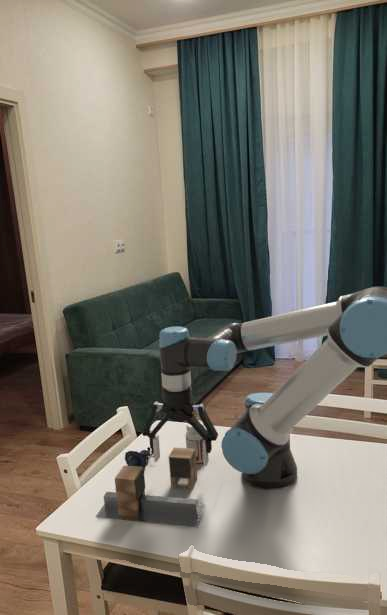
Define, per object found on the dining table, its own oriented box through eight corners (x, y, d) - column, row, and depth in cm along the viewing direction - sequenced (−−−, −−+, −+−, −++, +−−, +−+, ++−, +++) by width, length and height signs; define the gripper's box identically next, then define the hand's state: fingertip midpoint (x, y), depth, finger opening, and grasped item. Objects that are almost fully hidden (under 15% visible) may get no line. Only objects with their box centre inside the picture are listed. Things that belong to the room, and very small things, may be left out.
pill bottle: (204, 452, 149) (202, 417, 147) (209, 461, 143) (207, 426, 141) (185, 455, 148) (182, 420, 146) (189, 465, 142) (186, 429, 140)
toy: (163, 442, 150) (144, 453, 136) (163, 466, 150) (143, 479, 136) (139, 440, 153) (117, 450, 139) (138, 463, 153) (117, 476, 138)
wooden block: (147, 502, 123) (144, 466, 121) (139, 517, 118) (135, 479, 116) (127, 500, 125) (123, 465, 123) (118, 515, 119) (114, 478, 117)
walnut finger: (176, 480, 134) (173, 447, 132) (197, 482, 133) (195, 448, 131) (171, 491, 129) (168, 457, 127) (192, 493, 128) (190, 458, 126)
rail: (206, 507, 121) (205, 491, 120) (198, 531, 113) (197, 513, 112) (110, 499, 128) (108, 483, 127) (95, 520, 119) (93, 504, 118)
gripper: (226, 383, 126) (229, 457, 131) (136, 379, 132) (142, 450, 137) (221, 394, 119) (224, 472, 123) (126, 389, 125) (132, 464, 130)
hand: (181, 461), depth 130 cm, fingers open, 13 cm apart
